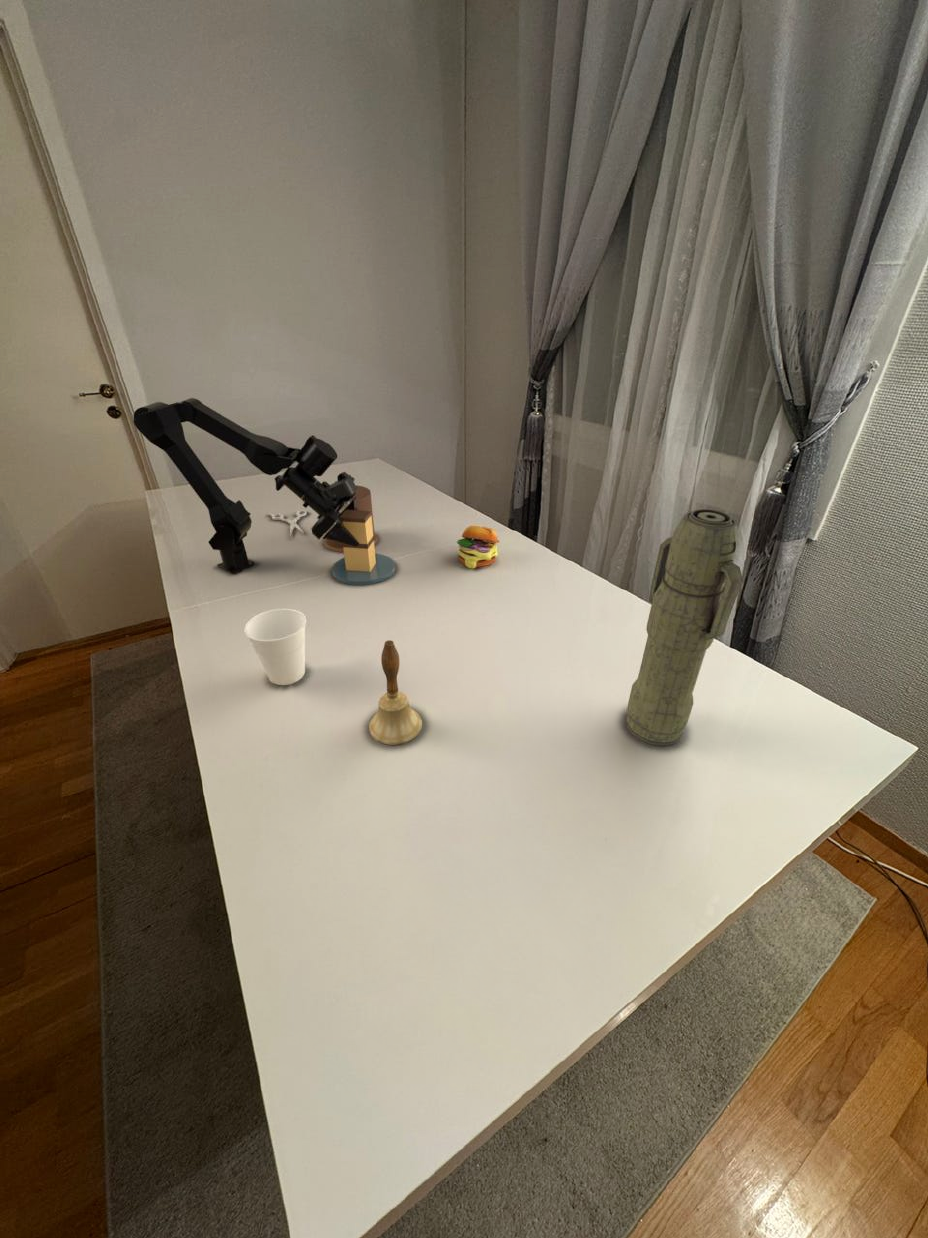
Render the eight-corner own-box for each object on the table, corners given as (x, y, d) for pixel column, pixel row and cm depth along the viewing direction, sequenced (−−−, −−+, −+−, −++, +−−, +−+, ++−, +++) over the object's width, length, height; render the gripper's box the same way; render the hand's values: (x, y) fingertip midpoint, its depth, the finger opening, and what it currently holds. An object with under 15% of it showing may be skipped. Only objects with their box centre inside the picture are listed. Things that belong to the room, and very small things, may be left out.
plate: (319, 573, 125) (318, 569, 124) (364, 551, 135) (363, 547, 134) (364, 591, 117) (363, 587, 117) (407, 567, 128) (407, 563, 127)
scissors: (304, 507, 159) (317, 531, 143) (305, 510, 159) (317, 533, 144) (268, 512, 155) (277, 537, 140) (269, 515, 156) (277, 540, 140)
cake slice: (346, 570, 124) (339, 517, 117) (352, 561, 128) (346, 509, 121) (370, 572, 123) (364, 518, 116) (376, 563, 127) (371, 511, 120)
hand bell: (374, 707, 85) (364, 626, 77) (424, 708, 85) (420, 627, 76) (364, 744, 78) (352, 660, 70) (419, 746, 78) (414, 662, 69)
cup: (263, 700, 86) (248, 647, 80) (253, 668, 94) (239, 616, 88) (322, 683, 90) (312, 631, 84) (308, 653, 98) (299, 603, 92)
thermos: (667, 762, 76) (736, 541, 57) (606, 715, 84) (648, 508, 65) (703, 737, 80) (779, 523, 61) (642, 695, 88) (692, 495, 69)
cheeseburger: (449, 565, 128) (452, 525, 124) (465, 558, 137) (468, 520, 134) (488, 572, 125) (492, 531, 121) (501, 564, 134) (505, 525, 131)
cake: (313, 543, 139) (305, 495, 132) (351, 526, 148) (346, 480, 141) (350, 557, 132) (343, 506, 125) (387, 538, 142) (383, 491, 134)
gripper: (318, 478, 105) (376, 531, 110) (342, 453, 120) (392, 500, 126) (286, 514, 109) (344, 563, 115) (314, 485, 125) (363, 529, 130)
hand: (362, 537), depth 121 cm, fingers open, 9 cm apart
